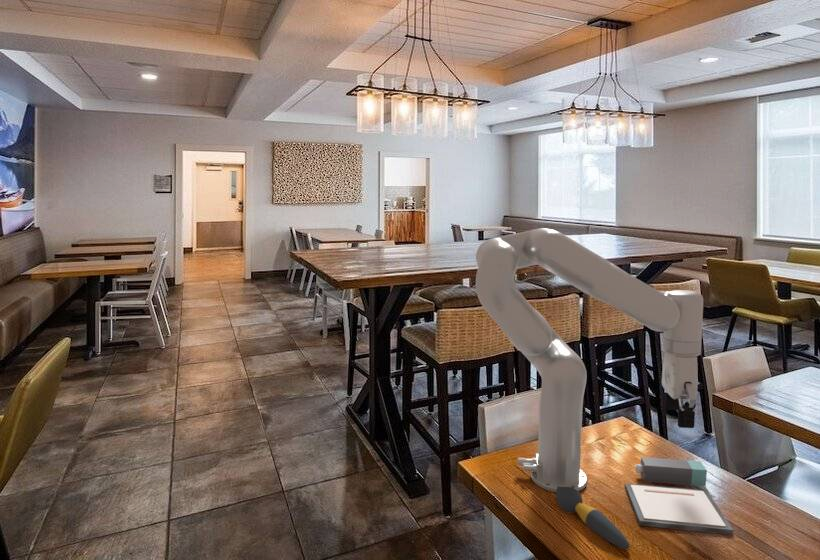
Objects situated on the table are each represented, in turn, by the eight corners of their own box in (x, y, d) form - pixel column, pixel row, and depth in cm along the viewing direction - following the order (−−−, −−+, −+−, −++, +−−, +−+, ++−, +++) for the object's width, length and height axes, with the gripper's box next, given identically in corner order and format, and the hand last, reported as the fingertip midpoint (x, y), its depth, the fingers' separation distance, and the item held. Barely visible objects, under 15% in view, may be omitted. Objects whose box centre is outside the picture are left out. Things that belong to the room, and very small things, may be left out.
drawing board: (639, 525, 103) (640, 519, 103) (624, 487, 116) (625, 482, 116) (732, 534, 99) (733, 528, 99) (706, 494, 113) (706, 489, 113)
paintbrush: (641, 546, 97) (642, 522, 96) (624, 556, 94) (625, 531, 94) (560, 496, 114) (561, 475, 113) (544, 503, 111) (544, 482, 110)
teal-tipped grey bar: (637, 480, 119) (638, 464, 118) (634, 471, 123) (634, 456, 122) (705, 486, 116) (706, 470, 116) (699, 477, 120) (700, 461, 120)
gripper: (653, 335, 124) (651, 402, 126) (675, 357, 107) (672, 434, 109) (687, 335, 122) (684, 403, 125) (715, 357, 105) (710, 435, 108)
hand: (678, 417), depth 117 cm, fingers open, 9 cm apart
